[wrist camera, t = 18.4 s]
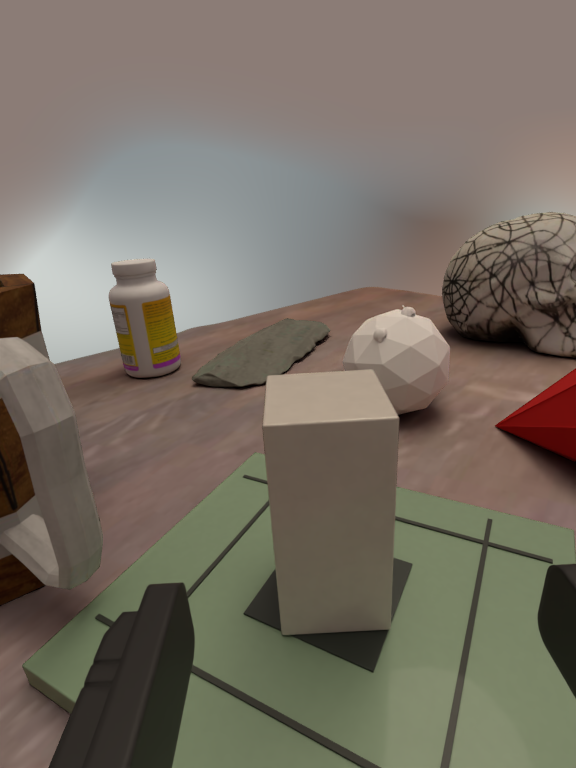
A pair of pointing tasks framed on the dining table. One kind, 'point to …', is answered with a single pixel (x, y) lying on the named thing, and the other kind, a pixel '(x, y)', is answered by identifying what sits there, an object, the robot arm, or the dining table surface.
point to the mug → (39, 461)
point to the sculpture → (517, 284)
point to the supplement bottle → (143, 319)
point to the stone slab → (262, 354)
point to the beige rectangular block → (331, 499)
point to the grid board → (351, 644)
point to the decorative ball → (402, 357)
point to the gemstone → (548, 418)
